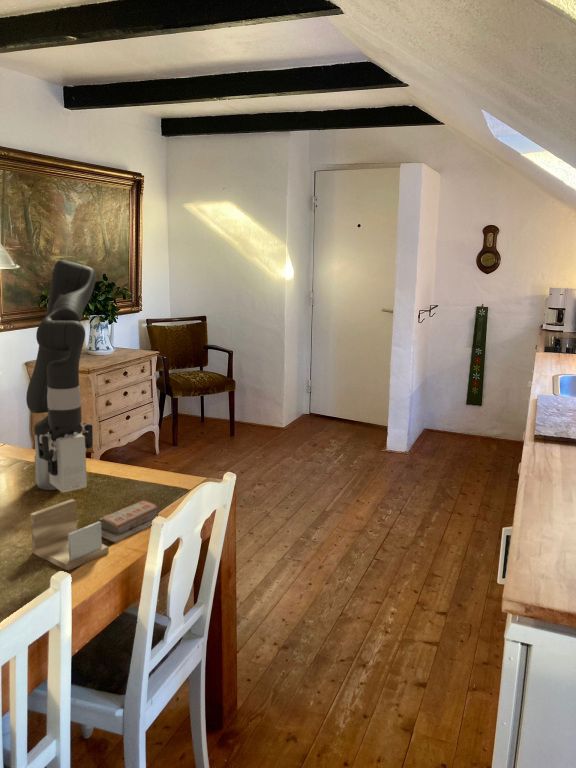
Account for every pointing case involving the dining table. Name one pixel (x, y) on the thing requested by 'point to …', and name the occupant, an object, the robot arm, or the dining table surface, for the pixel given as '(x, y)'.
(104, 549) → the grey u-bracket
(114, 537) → the packaged product
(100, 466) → the dining table surface
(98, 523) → the grey rectangular panel
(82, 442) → the small box
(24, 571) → the dining table surface
